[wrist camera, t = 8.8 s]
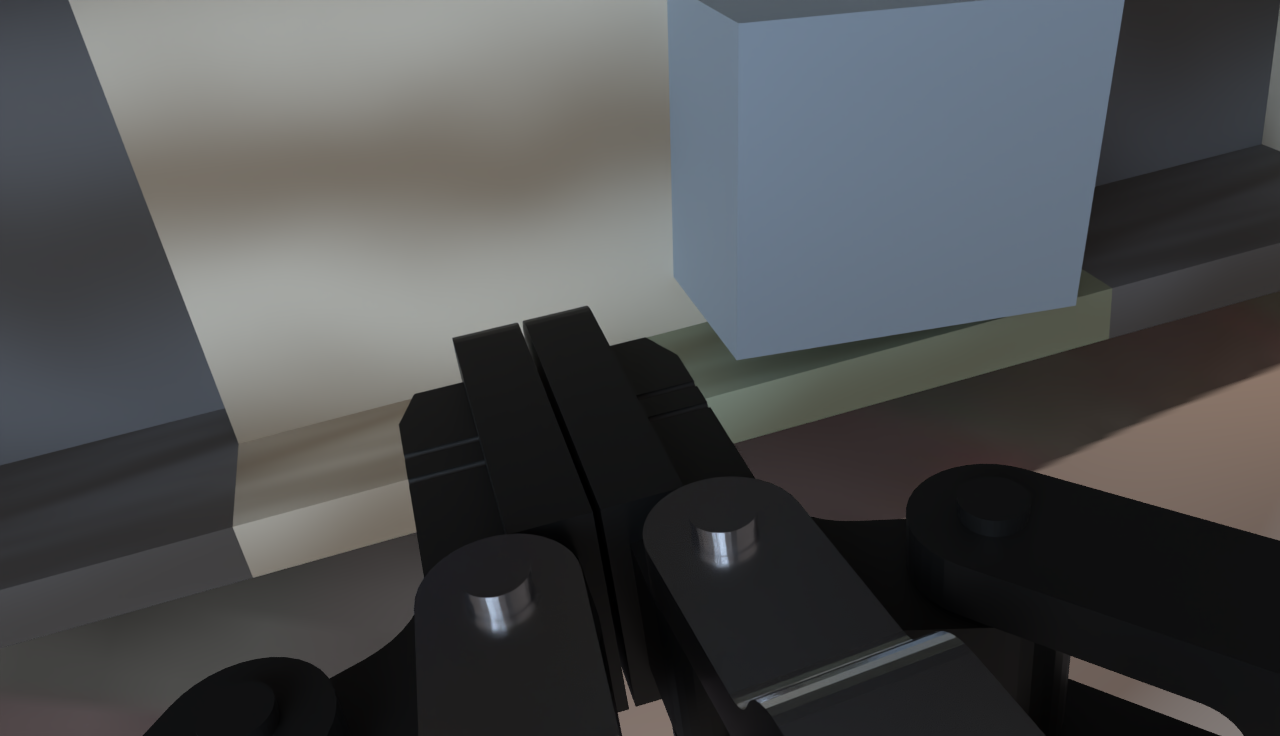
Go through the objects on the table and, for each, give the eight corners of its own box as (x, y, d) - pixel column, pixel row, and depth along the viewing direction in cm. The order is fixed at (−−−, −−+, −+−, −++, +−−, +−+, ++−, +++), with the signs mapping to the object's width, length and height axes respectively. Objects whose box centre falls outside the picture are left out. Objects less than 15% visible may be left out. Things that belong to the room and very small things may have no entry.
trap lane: (-521, -61, 18) (-771, -9, 14) (1360, -385, 24) (1594, -418, 20) (-145, 547, 24) (-237, 714, 20) (1280, 176, 30) (1446, 244, 26)
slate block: (666, -18, 21) (738, 22, 18) (1001, -46, 23) (1126, -14, 20) (673, 276, 24) (736, 360, 21) (971, 233, 26) (1075, 305, 22)
